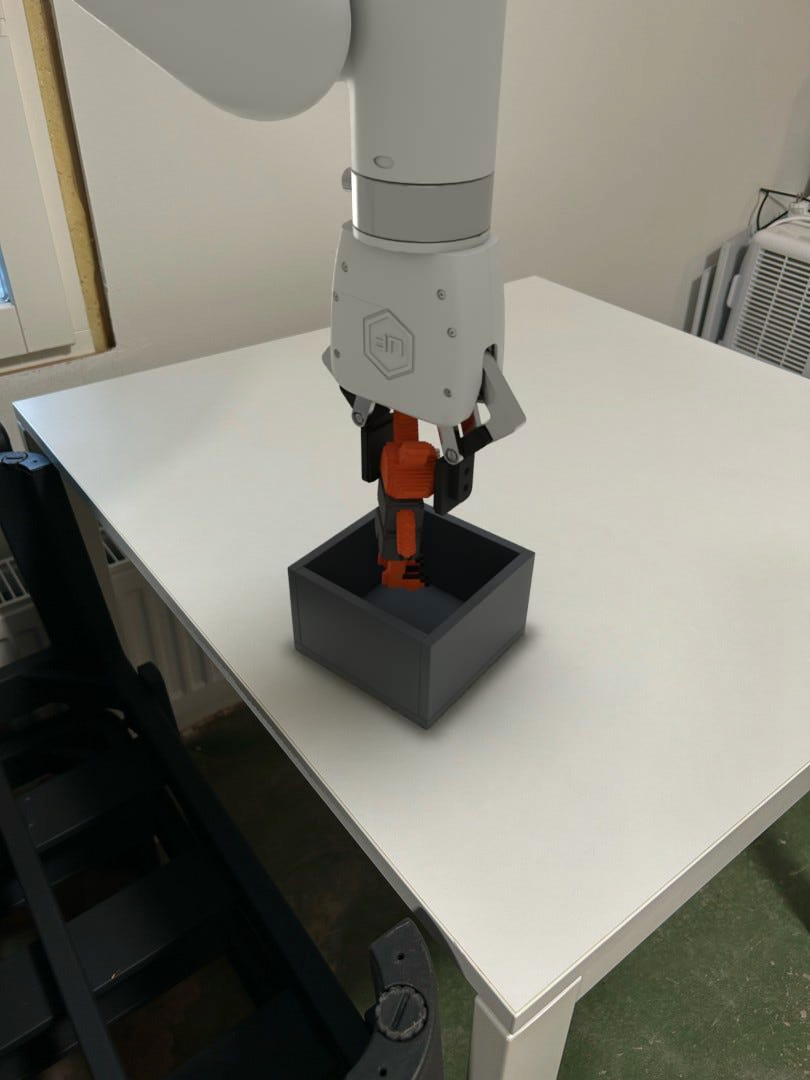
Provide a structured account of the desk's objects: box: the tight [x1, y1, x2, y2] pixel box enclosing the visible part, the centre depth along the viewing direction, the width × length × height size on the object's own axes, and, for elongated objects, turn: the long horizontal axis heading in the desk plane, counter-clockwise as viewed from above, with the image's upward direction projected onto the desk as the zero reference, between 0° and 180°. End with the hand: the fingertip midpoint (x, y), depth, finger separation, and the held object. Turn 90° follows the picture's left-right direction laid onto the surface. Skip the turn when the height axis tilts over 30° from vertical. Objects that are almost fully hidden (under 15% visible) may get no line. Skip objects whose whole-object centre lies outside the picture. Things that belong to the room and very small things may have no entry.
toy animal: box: [375, 409, 441, 591], centre depth 55 cm, size 8×6×12 cm
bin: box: [286, 502, 536, 730], centre depth 61 cm, size 13×13×8 cm
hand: (415, 487), depth 55 cm, fingers closed on toy animal, 5 cm apart
